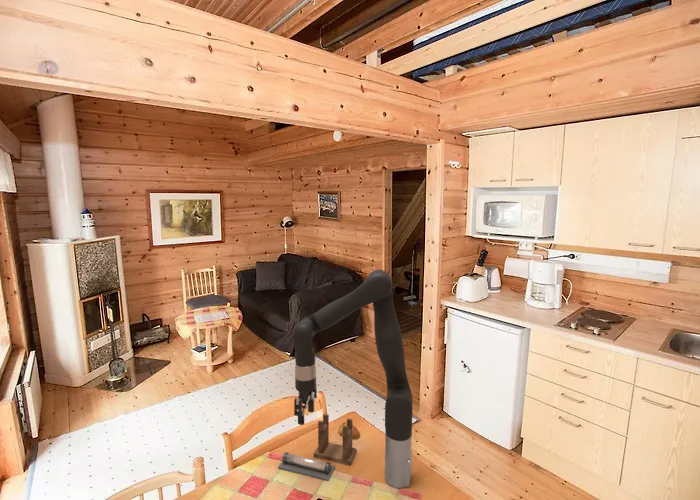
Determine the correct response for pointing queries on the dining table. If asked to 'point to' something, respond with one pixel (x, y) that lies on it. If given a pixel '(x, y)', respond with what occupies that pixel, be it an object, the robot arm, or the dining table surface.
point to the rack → (332, 450)
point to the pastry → (354, 431)
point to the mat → (306, 471)
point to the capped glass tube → (306, 462)
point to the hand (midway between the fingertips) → (306, 417)
